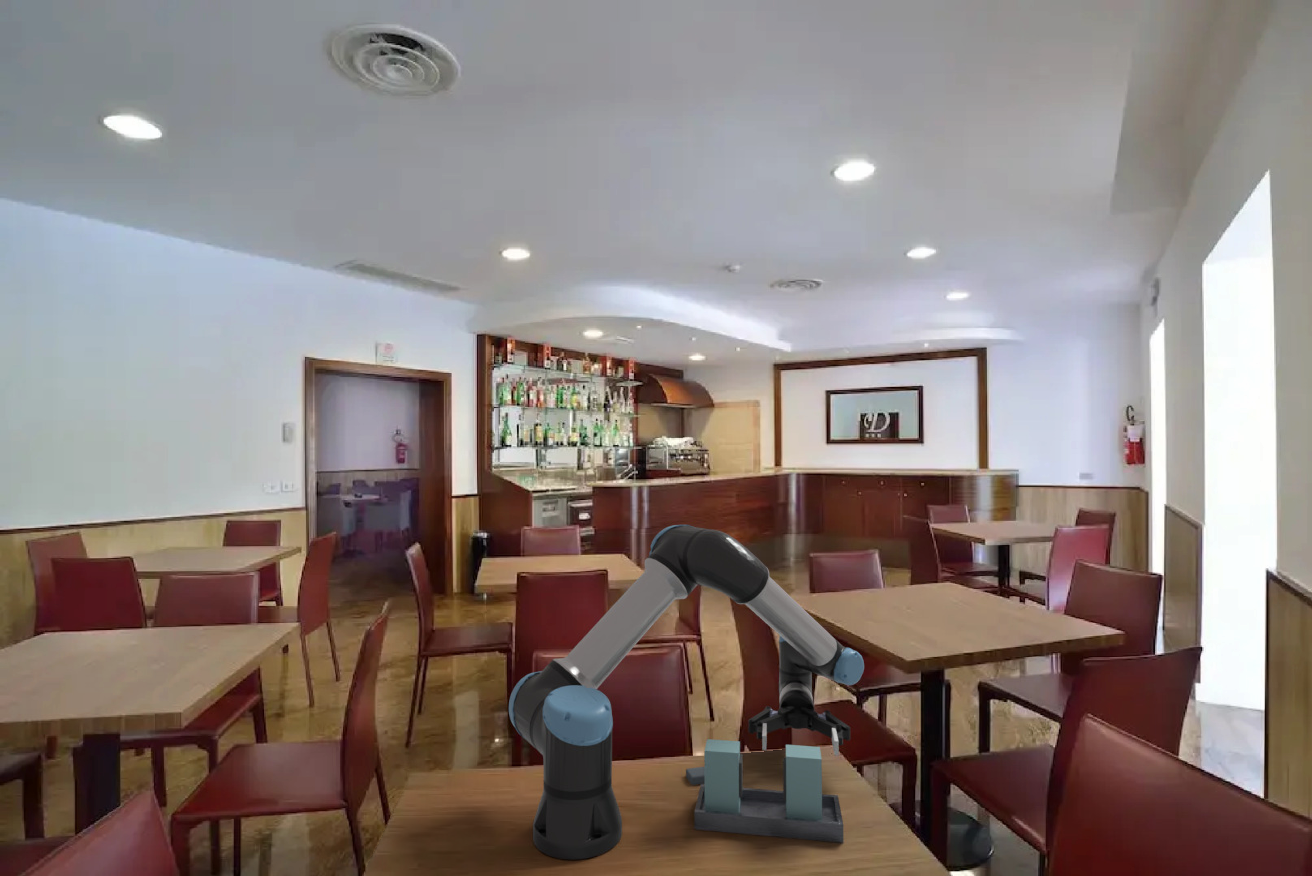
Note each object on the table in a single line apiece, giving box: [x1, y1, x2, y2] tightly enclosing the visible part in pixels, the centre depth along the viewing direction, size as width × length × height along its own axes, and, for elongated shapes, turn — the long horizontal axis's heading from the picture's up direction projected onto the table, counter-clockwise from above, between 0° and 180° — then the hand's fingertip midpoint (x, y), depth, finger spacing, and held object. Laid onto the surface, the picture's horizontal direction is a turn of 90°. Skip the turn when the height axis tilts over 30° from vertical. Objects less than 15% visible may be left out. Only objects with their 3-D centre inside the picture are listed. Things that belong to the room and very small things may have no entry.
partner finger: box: [703, 738, 744, 813], centre depth 123 cm, size 6×5×11 cm
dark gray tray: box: [694, 783, 844, 844], centre depth 121 cm, size 25×10×3 cm, turn 80°
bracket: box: [685, 766, 705, 786], centre depth 137 cm, size 4×10×2 cm, turn 106°
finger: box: [782, 744, 823, 820], centre depth 120 cm, size 6×5×11 cm
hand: (800, 745), depth 131 cm, fingers open, 13 cm apart
